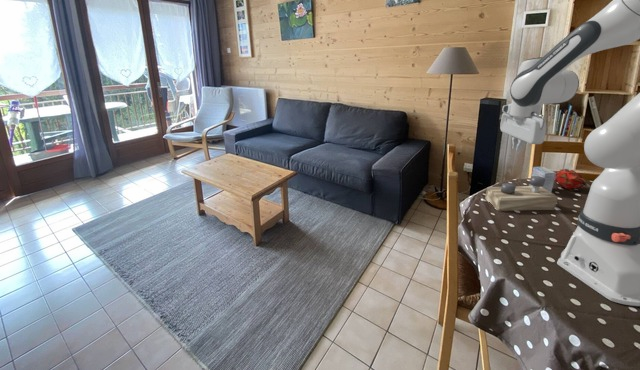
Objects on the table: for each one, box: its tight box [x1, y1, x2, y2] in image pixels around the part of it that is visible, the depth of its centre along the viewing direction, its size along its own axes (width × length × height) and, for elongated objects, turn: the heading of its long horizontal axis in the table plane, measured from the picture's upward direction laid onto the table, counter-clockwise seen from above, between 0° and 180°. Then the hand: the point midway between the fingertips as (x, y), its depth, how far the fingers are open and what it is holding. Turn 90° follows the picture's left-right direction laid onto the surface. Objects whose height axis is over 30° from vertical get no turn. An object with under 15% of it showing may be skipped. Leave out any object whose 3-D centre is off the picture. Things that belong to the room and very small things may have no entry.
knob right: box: [529, 176, 546, 193], centre depth 116 cm, size 4×4×7 cm
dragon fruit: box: [554, 168, 588, 192], centre depth 130 cm, size 8×8×12 cm
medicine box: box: [528, 166, 557, 193], centre depth 129 cm, size 8×4×9 cm, turn 179°
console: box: [484, 185, 559, 212], centre depth 118 cm, size 10×20×5 cm, turn 90°
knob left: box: [500, 182, 516, 194], centre depth 118 cm, size 4×4×7 cm
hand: (516, 150), depth 111 cm, fingers closed
